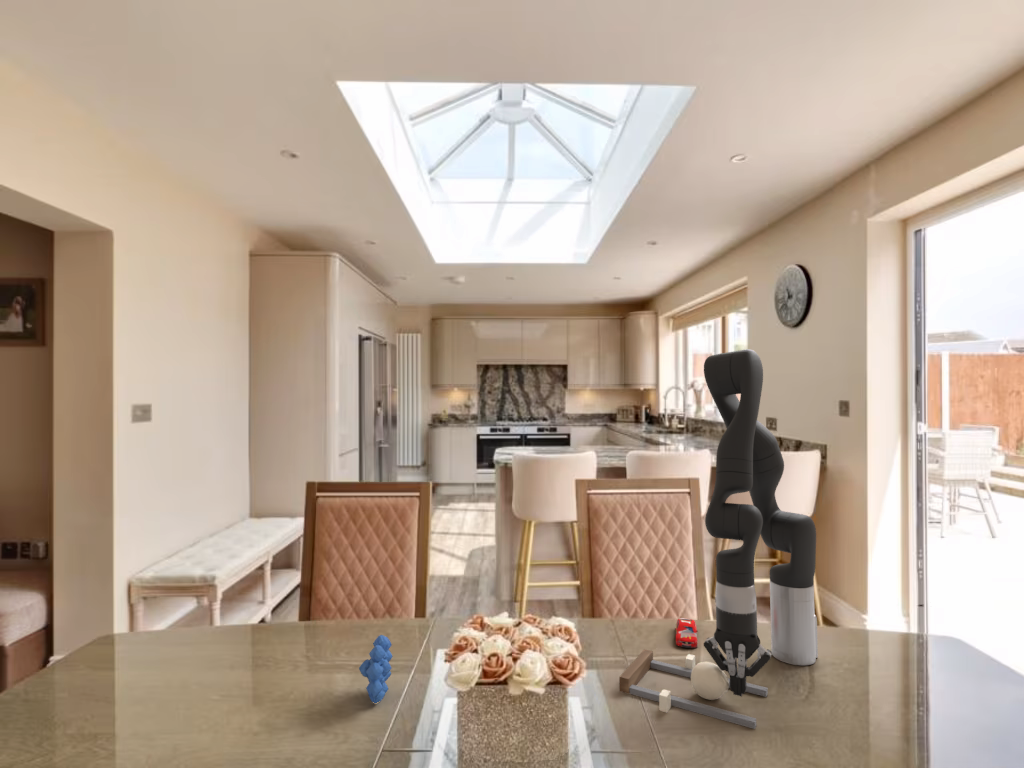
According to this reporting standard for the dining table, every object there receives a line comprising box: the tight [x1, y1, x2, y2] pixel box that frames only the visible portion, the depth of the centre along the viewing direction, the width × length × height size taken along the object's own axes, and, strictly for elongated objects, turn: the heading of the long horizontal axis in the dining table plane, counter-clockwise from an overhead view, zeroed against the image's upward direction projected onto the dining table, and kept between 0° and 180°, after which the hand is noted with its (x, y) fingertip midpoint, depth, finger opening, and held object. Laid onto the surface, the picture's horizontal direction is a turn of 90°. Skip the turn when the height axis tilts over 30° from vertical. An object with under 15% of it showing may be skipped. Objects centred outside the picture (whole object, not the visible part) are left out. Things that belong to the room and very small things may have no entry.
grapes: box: [358, 634, 394, 704], centre depth 116 cm, size 12×7×12 cm, turn 179°
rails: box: [628, 659, 769, 730], centre depth 116 cm, size 24×14×1 cm, turn 57°
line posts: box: [658, 653, 696, 714], centre depth 118 cm, size 2×20×3 cm, turn 147°
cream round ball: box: [690, 661, 730, 701], centre depth 114 cm, size 7×7×7 cm
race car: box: [674, 617, 699, 649], centre depth 143 cm, size 13×5×4 cm, turn 162°
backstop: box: [619, 648, 654, 695], centre depth 123 cm, size 2×15×3 cm, turn 147°
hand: (738, 693), depth 112 cm, fingers closed
